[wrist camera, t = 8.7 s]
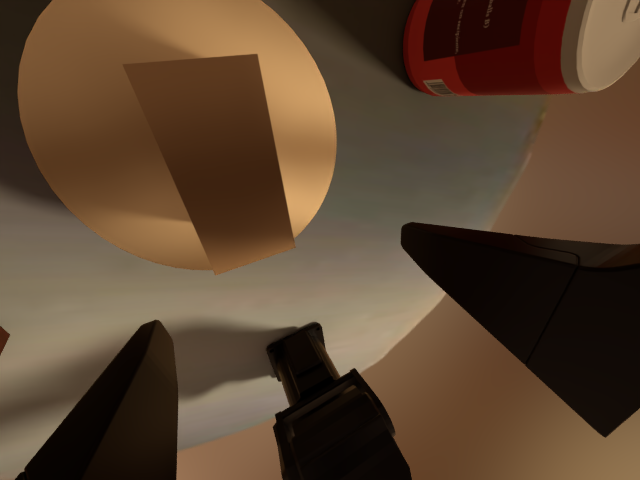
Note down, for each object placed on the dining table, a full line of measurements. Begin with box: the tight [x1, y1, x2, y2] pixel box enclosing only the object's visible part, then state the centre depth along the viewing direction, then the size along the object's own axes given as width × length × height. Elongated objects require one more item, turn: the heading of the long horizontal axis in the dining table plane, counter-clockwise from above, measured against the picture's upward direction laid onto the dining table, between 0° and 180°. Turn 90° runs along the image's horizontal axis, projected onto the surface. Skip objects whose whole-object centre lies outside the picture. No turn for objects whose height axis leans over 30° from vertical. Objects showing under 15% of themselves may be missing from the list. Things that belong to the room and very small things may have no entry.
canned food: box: [403, 0, 640, 96], centre depth 15 cm, size 8×8×11 cm
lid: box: [17, 0, 336, 275], centre depth 10 cm, size 12×12×6 cm
